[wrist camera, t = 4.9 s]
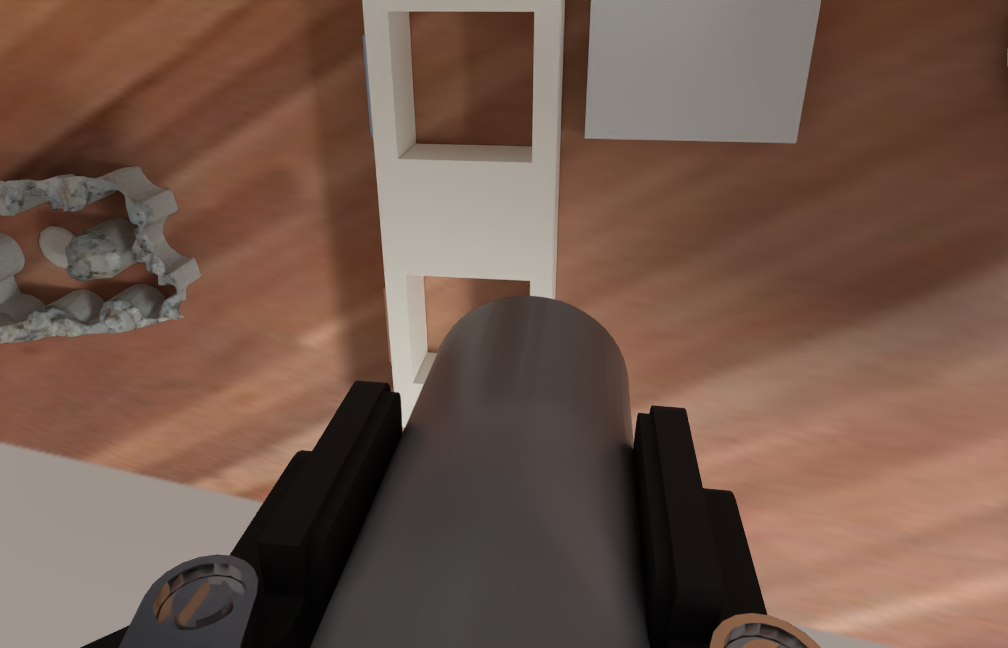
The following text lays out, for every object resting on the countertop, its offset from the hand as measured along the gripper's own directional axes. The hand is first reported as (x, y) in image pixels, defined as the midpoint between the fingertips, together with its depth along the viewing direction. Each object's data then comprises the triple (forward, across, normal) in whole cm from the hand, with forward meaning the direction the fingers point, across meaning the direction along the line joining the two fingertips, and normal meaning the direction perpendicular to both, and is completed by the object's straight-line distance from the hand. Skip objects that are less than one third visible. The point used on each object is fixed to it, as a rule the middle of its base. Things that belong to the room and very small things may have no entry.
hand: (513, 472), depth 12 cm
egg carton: (+20, +22, +4) cm, 31 cm away
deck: (+20, -5, -6) cm, 21 cm away
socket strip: (+20, +4, +1) cm, 20 cm away
